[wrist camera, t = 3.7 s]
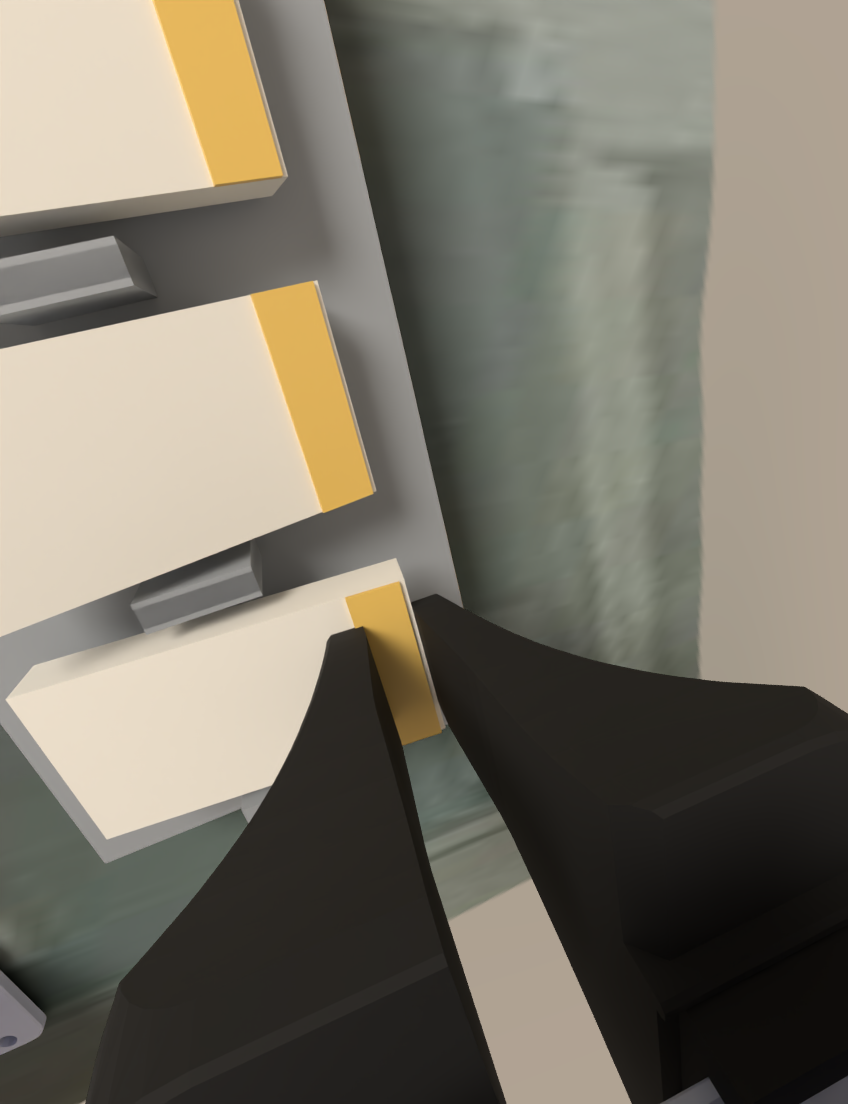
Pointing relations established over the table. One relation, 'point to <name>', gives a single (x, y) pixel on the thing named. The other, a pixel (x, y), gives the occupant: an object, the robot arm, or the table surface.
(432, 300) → the table surface
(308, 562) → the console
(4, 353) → the rocker
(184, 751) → the block
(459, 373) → the table surface
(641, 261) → the table surface
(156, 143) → the rocker
